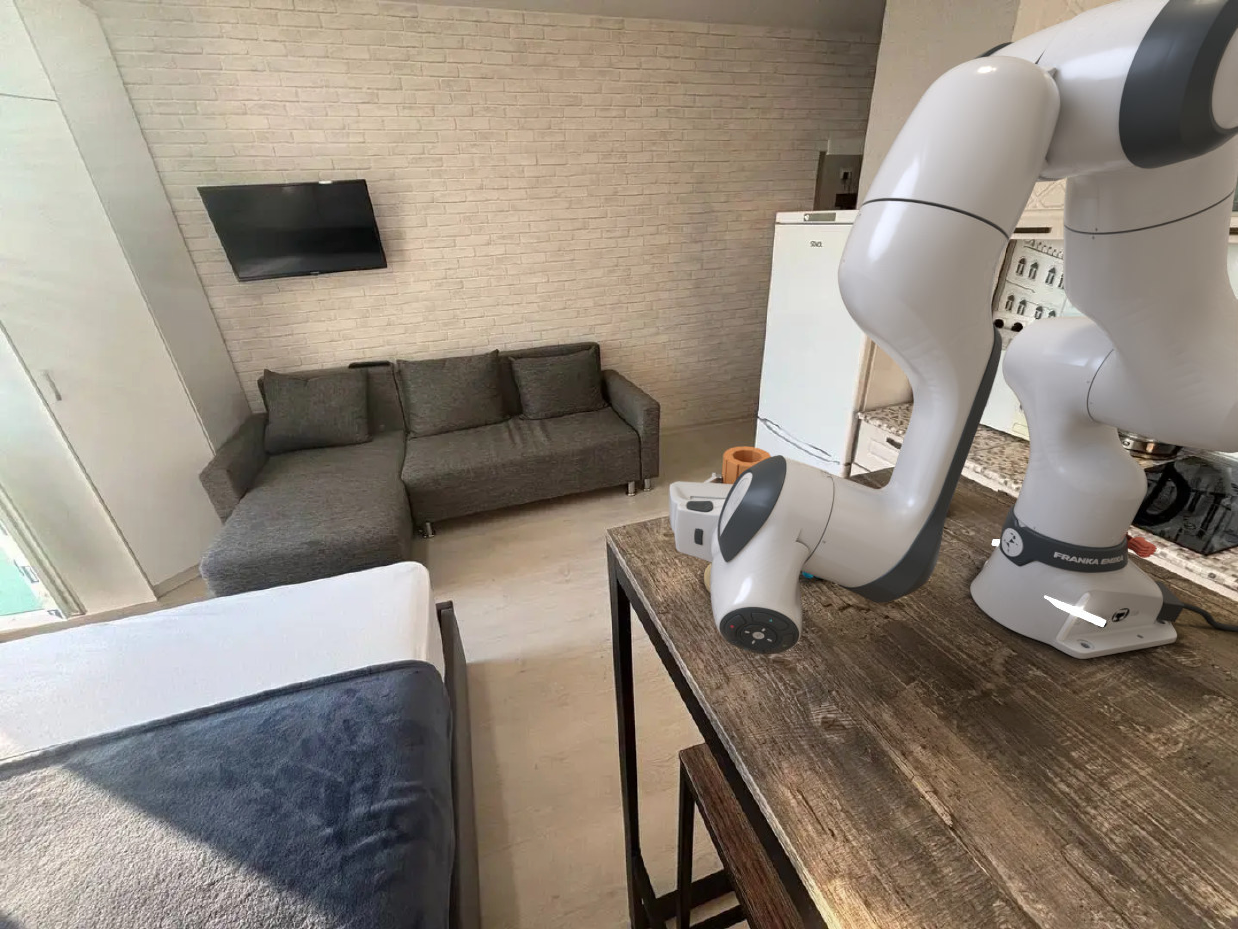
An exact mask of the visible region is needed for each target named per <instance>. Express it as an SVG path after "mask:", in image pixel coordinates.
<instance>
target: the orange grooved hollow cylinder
mask: <svg viewBox="0 0 1238 929" xmlns="http://www.w3.org/2000/svg"><path fill="white" fill-rule="evenodd" d="M769 457H772V456H771V454H770V453H769V452H768V451H766V450H764V449H761V448H758V447H755V446H745V445H743V446H741V445H739V446H734V447H729V448H728V449H726V451H724V452H723V455H722V470H721V473H722V484H734V482H735V481H736V479H737V478H738V477H739V475H740V474H741V473H742V472H744V471H745V470H747V469H748V468H750V467H751V466H753V465H755V464H757V463H758V462H760V461H762V460H764V459H767V458H769Z"/></svg>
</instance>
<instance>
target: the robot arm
mask: <svg viewBox="0 0 1238 929" xmlns="http://www.w3.org/2000/svg"><path fill="white" fill-rule="evenodd" d="M896 135H897V136H896V137H895V138H894V140H893V142H892V144H891V146H890V148H889V149H888V151H887V153H886V155H885V156H884V157H883V159H882V162H881V164H880V166H879V167H878V169H877V172H876V173H875V175H874V177H873V180H872V182H871V183H870V186H869V187H868V189H867V192H866V194H865V196H864V198H863V201H862V203H861V205H860V207H859V209H858V212H857V214H856V216H855V218H854V220H853V224H852V225H851V228H850V230H849V233H848V235H847V238H846V241H845V244H844V246H843V251H842V253H841V257H840V260H839V264H838V268H837V284H838V289H839V290H838V291H839V294H840V297H841V300H842V302H843V305H844V307H845V309H846V311H847V313H848V314H849V316H850V318H851V319H852V321H853V322H854V323H855V325H856V326H857V327H858V328H859V329H860V330H861V332H862V333H864V334H865V336H867V337H868V338H869V339H870V340H871V341H872V342H873V343H874V344H876V346H878V348H880V349H881V350H882V351H883V352H884V353H885V354H886V355H888V356H889V357H890V358H891V359H892V360H893V361H894V362H895V364H897V366H898V367H899V368H900V369H901V371H902V372H903V374H905V376H906V378H907V380H908V382H909V384H910V386H911V389H912V396H913V408H912V412H911V416H910V419H909V422H908V425H907V428H906V431H905V434H904V437H903V439H902V443H901V446H900V449H899V452H898V455H897V457H896V461H895V465H894V467H893V471H892V473H891V477H890V479H889V481H888V483H887V484H886V485H885V486H883V487H881V488H873V487H869V486H867V485H864V484H861V483H859V482H856V481H853V480H850V479H847V478H844V477H842V476H838V475H836V474H833V473H830V472H829V471H827V470H825V469H822V468H819V467H818V466H817V467H816V466H814V465H811V464H809V463H805V462H802V461H799V460H796V459H793V458H790V457H786V456H783V455H781V454H779V455H772V456H771V457H769V458H767V459H764V460H762V461H760V462H758V463H757V464H755V465H753V466H751V467H750V468H748V469H747V470H745V471H744V472H742V473H741V474H740V475H739V477H738V478H737V479H736V481H735V482H734V484H722V472H711V477H710V478H708V479H706V480H704V481H703V482H698V481H682V480H678V481H674V482H673V483H670V484H669V486H668V487H669V488H668V517H669V518H668V520H669V525H670V529H671V531H672V532H673V533H674V534H673V535H674V543H675V550H676V551H677V552H679V553H680V554H684V555H688V556H691V557H694V558H698V559H700V560H703V561H706V562H708V563H710V564H711V563H712V565H711V570H710V592H711V593H710V592H709V593H710V602H711V609H712V610H711V611H712V615H713V620H714V623H715V627H716V629H717V631H718V633H719V634H720V636H721V637H722V638H723V639H724V640H725V641H726V642H727V643H728V644H730V645H732V646H733V647H736V648H738V649H741V650H743V651H747V652H750V653H753V654H757V655H777V654H780V653H781V654H782V653H785V652H787V651H789V650H790V649H792V648H794V647H795V646H796V645H797V644H798V643H799V641H800V639H801V636H802V631H803V600H802V591H801V585H800V575H801V572H802V573H803V572H805V573H808V574H811V575H813V577H815V576H817V577H819V578H818V579H823V580H825V581H828V582H830V583H833V584H836V585H838V586H839V587H840V588H843V589H845V590H847V591H849V592H851V593H853V594H856V595H858V596H860V597H861V598H864V599H866V600H869V601H871V602H873V603H876V604H884V603H890V602H894V601H895V600H900V599H901V598H903V597H906V596H909V595H911V594H912V593H914V592H916V591H918V590H919V589H920V588H922V587H923V586H924V585H925V584H927V582H928V581H929V579H930V578H931V576H932V575H933V573H934V571H935V568H936V566H937V564H938V563H937V562H938V559H939V555H940V552H941V546H942V539H943V534H944V528H945V523H946V520H947V519H946V518H947V515H948V512H949V508H950V506H951V503H952V500H953V498H954V495H955V492H956V489H957V487H958V484H959V482H960V478H961V476H962V473H963V470H964V467H965V465H966V462H967V459H968V457H969V454H970V450H971V449H972V445H973V443H974V440H975V437H976V435H977V432H978V429H979V427H980V423H981V421H982V418H983V415H984V412H985V410H986V406H987V404H988V401H989V398H990V396H991V395H990V394H991V392H992V390H993V387H994V386H993V385H994V383H995V379H996V376H997V372H998V369H999V365H1000V360H1001V356H1002V351H1003V350H1002V349H1003V338H1002V335H1001V332H1000V331H999V329H998V328H997V327H996V325H995V323H994V322H993V316H992V314H993V313H992V300H993V298H992V297H993V288H994V282H995V279H996V273H997V270H998V267H999V264H1000V261H1001V260H1002V259H1001V258H1002V256H1003V254H1004V252H1005V250H1006V248H1007V246H1008V243H1010V241H1011V238H1012V236H1013V234H1014V233H1015V230H1016V229H1017V226H1018V224H1019V222H1020V220H1021V218H1022V216H1023V214H1024V212H1025V210H1026V207H1027V205H1028V203H1029V200H1030V199H1031V196H1032V193H1033V191H1034V188H1035V186H1036V183H1046V182H1057V181H1061V180H1064V179H1066V182H1065V188H1064V189H1065V190H1064V199H1063V200H1064V201H1063V219H1062V220H1063V226H1062V227H1063V230H1062V232H1063V236H1062V237H1063V239H1062V240H1063V241H1062V242H1063V243H1062V245H1063V246H1062V287H1063V292H1064V294H1065V296H1066V298H1067V299H1068V301H1069V302H1070V304H1071V305H1072V306H1073V307H1074V308H1075V309H1076V310H1077V311H1079V312H1080V313H1081V314H1082V316H1081V315H1080V316H1050V317H1049V316H1048V317H1047V316H1046V317H1041V318H1039V319H1038V318H1037V319H1036V320H1034V321H1032V322H1031V323H1029V324H1027V325H1026V326H1025V327H1023V328H1022V329H1021V330H1020V331H1019V332H1018V333H1017V334H1015V336H1014V337H1013V338H1012V340H1011V341H1010V342H1009V344H1008V345H1007V347H1006V349H1005V352H1004V354H1003V358H1002V363H1001V364H1002V365H1001V367H1002V368H1001V369H1002V375H1003V380H1004V382H1005V383H1006V385H1007V386H1008V387H1009V388H1010V390H1011V391H1012V392H1013V394H1014V395H1015V396H1016V398H1017V400H1018V402H1019V404H1020V406H1021V409H1022V412H1023V414H1024V418H1025V422H1026V426H1027V432H1028V439H1029V440H1028V441H1029V455H1028V463H1027V466H1026V468H1025V469H1026V470H1025V473H1024V476H1023V479H1022V480H1023V481H1022V483H1021V486H1020V489H1019V493H1018V495H1017V499H1016V501H1015V503H1013V504H1011V506H1010V508H1009V509H1008V512H1007V514H1006V517H1005V519H1004V521H1003V523H1002V527H1001V532H1000V538H999V539H992V543H991V545H992V546H995V547H994V549H993V551H992V553H991V555H990V556H989V558H988V559H987V560H986V561H985V562H984V564H983V566H982V569H981V571H980V572H979V573H978V575H976V577H975V578H974V579H973V580H972V581H971V583H970V588H969V590H970V595H971V597H972V599H973V601H974V602H975V603H976V605H978V607H979V609H981V610H982V611H983V612H984V613H985V614H986V615H987V616H989V617H990V619H993V620H994V621H996V622H997V623H999V624H1000V625H1002V626H1004V627H1006V628H1008V629H1009V630H1011V631H1013V632H1015V633H1018V634H1020V635H1022V636H1025V637H1027V638H1031V639H1033V640H1037V641H1038V642H1039V641H1040V642H1042V643H1045V644H1048V645H1049V646H1051V647H1053V648H1055V649H1057V650H1058V651H1061V652H1063V653H1064V654H1066V655H1068V656H1070V657H1073V658H1075V659H1080V660H1086V659H1092V658H1098V657H1102V656H1109V655H1113V654H1119V653H1125V652H1131V651H1137V650H1142V649H1147V648H1153V647H1157V646H1163V645H1170V644H1173V643H1175V642H1176V640H1177V639H1178V633H1177V631H1176V629H1175V627H1174V626H1173V624H1172V623H1176V621H1177V619H1178V618H1179V616H1180V614H1181V613H1182V612H1183V610H1188V611H1190V612H1193V613H1196V614H1197V615H1200V616H1201V617H1202V618H1203V619H1204V620H1205V622H1206V623H1207V624H1208V625H1210V626H1211V627H1213V628H1215V629H1219V630H1221V631H1227V632H1233V633H1234V632H1235V633H1236V632H1237V633H1238V625H1231V624H1225V623H1221V622H1218V621H1216V620H1215V619H1214V617H1213V616H1212V615H1211V613H1210V612H1208V611H1206V610H1205V609H1203V608H1201V607H1199V606H1196V605H1195V604H1194V605H1193V604H1191V603H1187V602H1183V601H1181V600H1180V599H1179V598H1178V597H1177V596H1176V595H1175V594H1174V592H1172V591H1171V590H1170V589H1169V587H1167V586H1166V585H1165V584H1164V582H1162V581H1157V580H1154V579H1152V578H1151V577H1150V576H1149V575H1148V574H1147V573H1146V572H1145V571H1144V570H1142V569H1141V568H1140V567H1139V566H1138V565H1137V564H1135V562H1134V561H1132V560H1131V559H1130V558H1129V551H1133V553H1134V554H1136V555H1137V556H1138V557H1139V558H1142V559H1147V558H1150V557H1151V556H1153V555H1155V553H1157V549H1158V548H1157V545H1156V544H1154V543H1152V542H1150V541H1147V540H1146V538H1144V537H1142V536H1134V537H1133V536H1132V535H1131V534H1129V529H1130V527H1131V526H1132V523H1133V521H1134V519H1135V517H1136V515H1137V513H1138V511H1139V509H1140V506H1141V505H1142V503H1143V501H1144V499H1145V497H1146V495H1147V492H1148V478H1147V475H1146V472H1145V470H1144V469H1143V467H1142V465H1140V463H1139V462H1138V461H1137V460H1136V459H1135V458H1134V457H1133V456H1132V455H1131V454H1130V453H1129V452H1128V450H1126V448H1125V447H1124V445H1123V443H1122V440H1121V439H1120V436H1119V433H1118V429H1119V430H1123V431H1126V432H1129V433H1132V434H1135V435H1139V436H1142V437H1145V438H1148V439H1151V440H1154V441H1156V442H1157V441H1158V442H1160V443H1163V444H1166V445H1171V446H1178V447H1185V448H1191V449H1196V450H1203V451H1211V452H1219V453H1224V454H1235V453H1238V299H1237V297H1236V295H1235V292H1234V290H1233V287H1232V285H1231V281H1230V277H1229V272H1228V250H1229V241H1230V240H1229V239H1230V229H1231V221H1232V214H1233V206H1234V200H1235V193H1236V189H1237V183H1238V0H1115V1H1112V2H1110V3H1105V4H1102V5H1099V6H1096V7H1093V8H1090V9H1087V10H1085V11H1083V12H1081V13H1079V14H1077V15H1076V16H1074V17H1072V18H1070V19H1067V20H1064V21H1061V22H1059V23H1056V24H1054V25H1051V26H1049V27H1046V28H1044V29H1041V30H1038V31H1036V32H1033V33H1032V34H1029V35H1027V36H1025V37H1022V38H1020V39H1018V40H1015V41H1009V42H1007V41H1006V42H1003V43H1000V44H998V45H996V46H994V47H992V48H990V49H988V50H986V51H984V52H982V53H980V54H979V55H977V56H976V57H974V58H973V59H971V60H967V61H965V62H961V63H960V64H958V65H956V66H954V67H952V68H951V69H949V70H946V72H945V73H943V74H941V75H939V77H938V78H937V79H936V80H934V81H933V83H931V84H930V86H929V87H928V88H927V89H926V91H925V92H924V93H923V95H921V97H920V99H919V100H918V102H917V103H916V104H915V107H914V108H913V109H912V111H911V113H910V114H909V116H908V117H907V118H906V121H905V122H904V123H903V125H902V127H901V129H900V130H899V131H898V134H896ZM1083 315H1084V316H1083Z"/></svg>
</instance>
